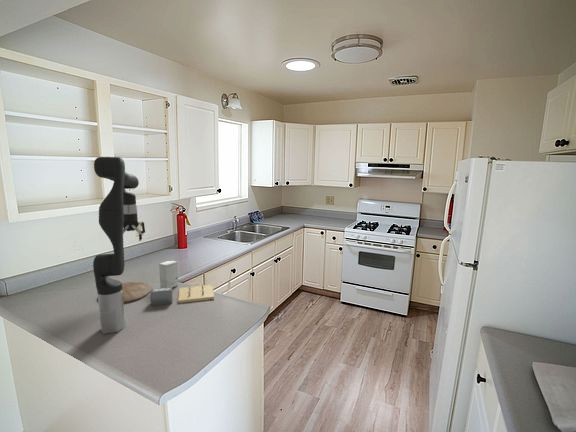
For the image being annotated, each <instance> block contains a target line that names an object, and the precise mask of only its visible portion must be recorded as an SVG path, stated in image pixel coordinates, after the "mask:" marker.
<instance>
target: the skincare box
mask: <svg viewBox="0 0 576 432" xmlns="http://www.w3.org/2000/svg"><path fill="white" fill-rule="evenodd" d="M158 266H159V285H160V287H159V289H161V288H171V287H172V289H173V288H174V287H177V286H179V278H178V277H179V276H178V275H179V274H178V261H175V260H166V261H164V262H160V263H159V265H158Z"/></svg>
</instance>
